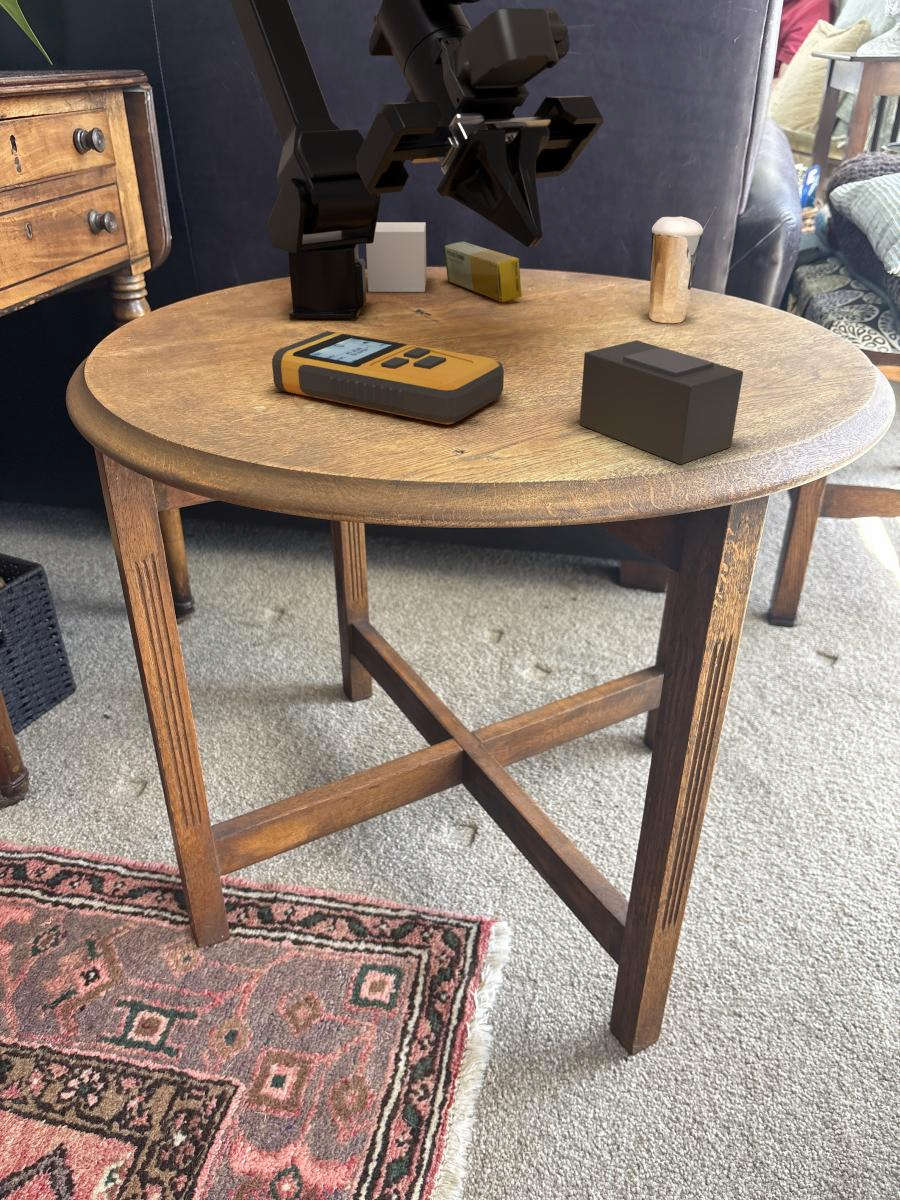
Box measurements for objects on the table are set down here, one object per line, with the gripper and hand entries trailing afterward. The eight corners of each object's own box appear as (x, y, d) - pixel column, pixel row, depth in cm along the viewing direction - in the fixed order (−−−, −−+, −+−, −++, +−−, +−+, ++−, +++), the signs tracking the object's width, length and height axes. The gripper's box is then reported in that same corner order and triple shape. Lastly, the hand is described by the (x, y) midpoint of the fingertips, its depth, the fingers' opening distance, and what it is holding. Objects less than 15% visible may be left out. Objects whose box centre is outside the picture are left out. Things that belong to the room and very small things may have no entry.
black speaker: (584, 348, 62) (691, 382, 55) (637, 336, 64) (744, 367, 58) (578, 424, 64) (680, 465, 58) (629, 410, 67) (731, 447, 61)
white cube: (368, 292, 99) (365, 231, 96) (372, 279, 104) (370, 222, 101) (425, 291, 99) (424, 231, 96) (426, 279, 104) (425, 222, 101)
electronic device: (451, 435, 63) (451, 387, 61) (270, 395, 70) (266, 350, 68) (509, 399, 69) (510, 354, 68) (337, 365, 76) (335, 323, 74)
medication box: (445, 283, 103) (441, 244, 101) (467, 278, 104) (463, 240, 102) (500, 303, 94) (497, 261, 92) (523, 297, 95) (521, 256, 92)
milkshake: (700, 327, 87) (716, 211, 82) (641, 324, 88) (653, 209, 82) (699, 315, 90) (714, 203, 85) (643, 312, 91) (654, 201, 86)
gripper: (371, -49, 56) (484, 170, 54) (595, -36, 66) (698, 151, 64) (314, 95, 65) (409, 286, 64) (518, 89, 75) (605, 254, 73)
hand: (535, 242), depth 66 cm, fingers closed
